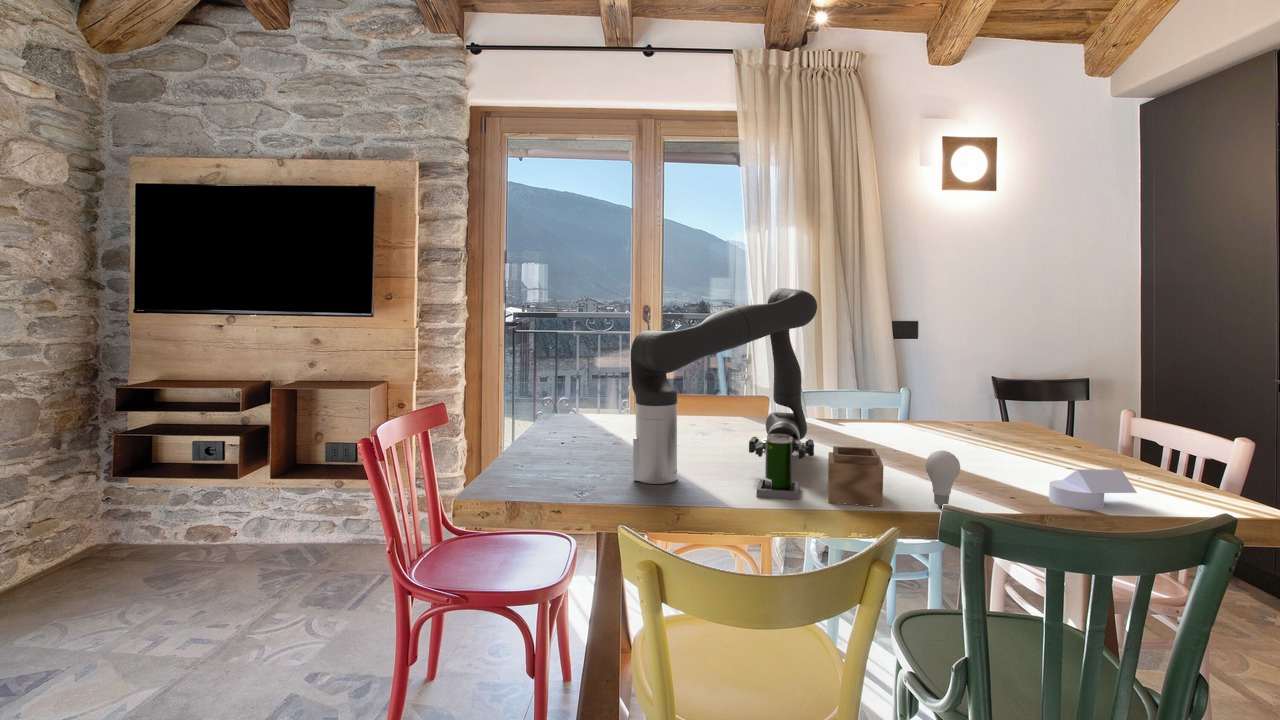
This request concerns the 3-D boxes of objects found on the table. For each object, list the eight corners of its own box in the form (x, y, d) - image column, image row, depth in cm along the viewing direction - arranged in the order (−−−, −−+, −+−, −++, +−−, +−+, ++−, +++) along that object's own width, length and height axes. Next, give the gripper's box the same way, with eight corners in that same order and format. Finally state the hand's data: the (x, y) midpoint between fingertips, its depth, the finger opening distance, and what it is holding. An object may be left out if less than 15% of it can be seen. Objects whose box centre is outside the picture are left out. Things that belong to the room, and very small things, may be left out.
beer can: (778, 498, 134) (779, 439, 133) (759, 491, 139) (760, 435, 138) (796, 493, 137) (798, 436, 136) (778, 487, 142) (778, 432, 141)
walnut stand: (828, 503, 131) (829, 455, 130) (827, 489, 140) (828, 445, 140) (882, 507, 128) (883, 458, 127) (877, 492, 138) (879, 447, 137)
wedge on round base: (1103, 496, 135) (1039, 496, 135) (1105, 463, 135) (1040, 463, 135) (1136, 510, 126) (1067, 510, 126) (1138, 475, 126) (1069, 475, 126)
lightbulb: (956, 503, 130) (958, 448, 129) (960, 513, 124) (962, 455, 123) (922, 500, 132) (924, 446, 131) (925, 510, 126) (927, 453, 125)
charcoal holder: (756, 496, 135) (756, 489, 135) (759, 485, 143) (759, 479, 143) (797, 499, 133) (798, 492, 133) (798, 488, 141) (799, 481, 141)
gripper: (753, 421, 160) (746, 434, 145) (814, 424, 157) (814, 437, 141) (753, 452, 161) (746, 468, 145) (813, 455, 157) (813, 472, 142)
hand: (780, 453), depth 143 cm, fingers open, 8 cm apart
